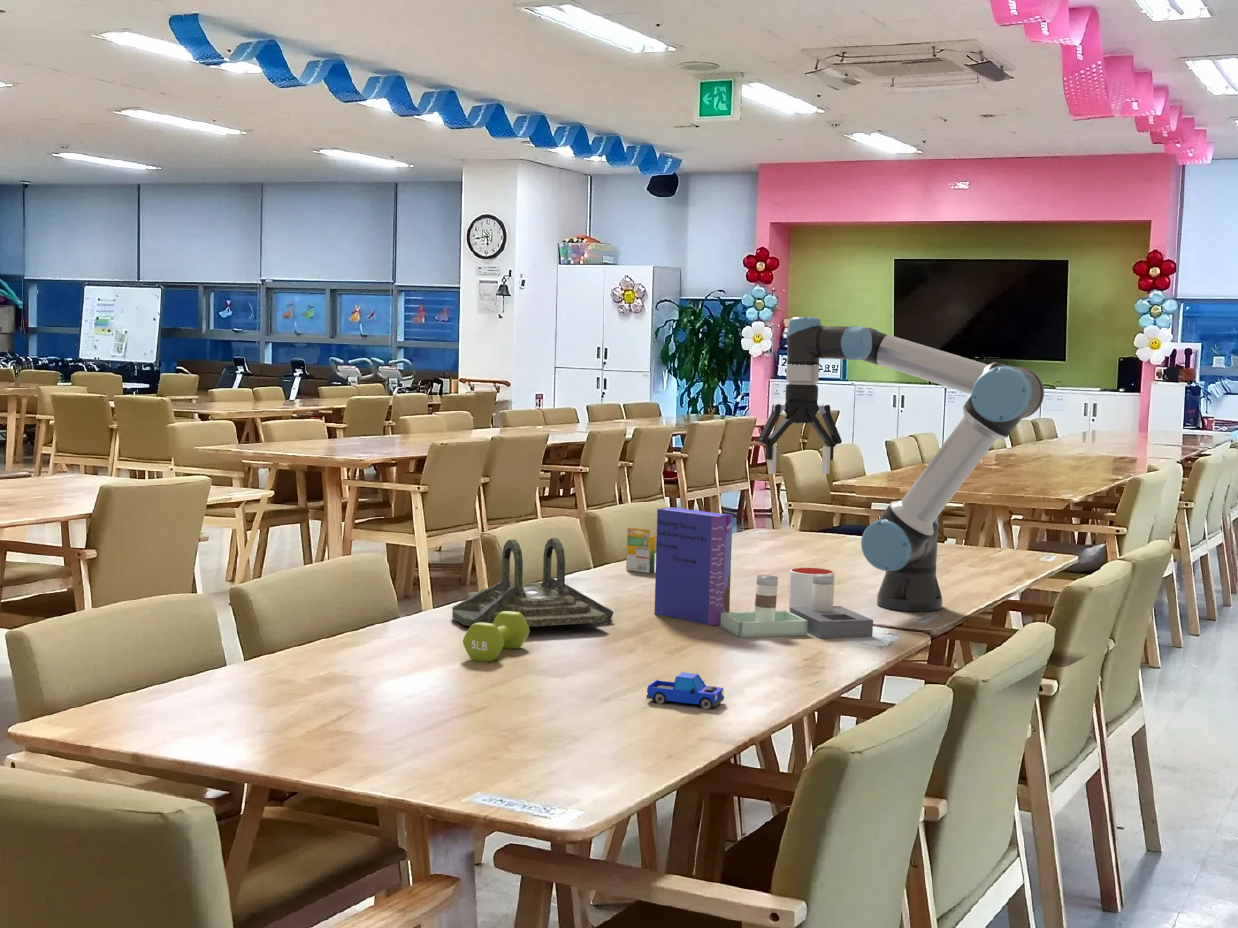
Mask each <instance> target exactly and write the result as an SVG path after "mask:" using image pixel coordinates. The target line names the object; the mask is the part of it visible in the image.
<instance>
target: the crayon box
mask: <svg viewBox="0 0 1238 928" xmlns="http://www.w3.org/2000/svg"><path fill="white" fill-rule="evenodd" d="M626 528H627V530H626V531H627V532H626V561H625V562H626V567H625V569H626V570H627V572H635V573H636V572H637V573H644V574H645V573H646V574H651V573H655V566H656V536H655V535H651V529H645V528H644V529H643V528H633V527H626ZM638 531H639V532H641V533H639V534H638V533H636V532H638Z"/></svg>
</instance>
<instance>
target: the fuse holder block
mask: <svg viewBox="0 0 1238 928" xmlns="http://www.w3.org/2000/svg"><path fill="white" fill-rule="evenodd" d="M833 583H834V584H835V575H834V576H833V575H829V574H814V575H813V591H812V607H790V610H789V612H790V613H793V614H795V615H797V616H799V617H801V618H803V619H805V620H807V621H808V622H807V634H810V635H812V636H814V637H817V638H818V639H839V638H863V637H873V635H874V634H873V630H874V629H873V628H874V620H873V619H872V618H868V617H867V616H865V615H862V614H860V613H857V612H855V611H853V610H851V609H849V608H846V607H843V606H841V605H833V606H832V603H833V604H834V601H833Z"/></svg>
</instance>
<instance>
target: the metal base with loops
mask: <svg viewBox="0 0 1238 928" xmlns="http://www.w3.org/2000/svg"><path fill="white" fill-rule="evenodd" d="M553 551H554V553H555V555H556V579H555V578H553V577H552V557H553ZM512 554H513V560H514V561H513V562H514V574H513V575H514V579H513V581H514V582H513V583H511V582H510V574H511V573H510V572H511V571H510V567H511V555H512ZM523 560H524V559H523V553H522V549H521V546H520V544H519V542H518V540H517V539H509V540H507V541H505V543H504V545H503V549H502V556H501V581H499V582H497V583H496V584H493V585H492V586H489V587H486V588H483V589H481V590H479V591H478V590H477V591H471V592H467V593H466V594H464V600H462V601H461V602H459V603H458V604H456V605H454V606H452V607H451V610H452V612H451V615H452V619H453V620H455V621H457V622H458V623H460V624H462V625H463V626H471V625H472V624H474V623H478V622H483V623H491V624H492V623H493V621H494V620H495V618H496V616H497V615H498V614H499V613H500V612H503V611H514V612H520V613H521V614H522V615H523V616H524V618H525V620H526V622H527V624H528V626H529V628H531V627H532V628H533V627H545V626H547V627H548V626H550V627H551V626H559V625H560V626H561V625H562V626H564V625H579V624H581V625H582V624H594V623H596V624H597V623H599V624H600V623H601V624H610V623H611V620H612V617H613V615H614V611H613V610H612V609H611V608H609V607H607V606H604V605H603V604H601V603H600V602H598V601H596V600H594V599H593V598H591V597H590V596H587V595H586V594H583V593H582V592H580V591H579V590H577V589H575V588H573V587H572V586H570V585H568V584H566V583H565V582H566V581H565V580H566V578H565V577H566V574H565V573H566V555H565V549H564V546H563V544H562V542H561V540H560V539H559V538H558V537H553V538H549V539H548V540H547V542H546V544H545V546H544V551H543V561H542V564H543V565H542V567H543V569H542V571H543V573H542V575H543V576H542V581H541V582H523V574H524V573H523V571H524V564H523V563H524V561H523Z"/></svg>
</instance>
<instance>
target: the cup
mask: <svg viewBox="0 0 1238 928" xmlns="http://www.w3.org/2000/svg"><path fill="white" fill-rule="evenodd" d="M814 574H829V575H833V576H834V577H835V571H833V570H831V569H827V568H819V567H795V568H792V569H789V591H788V593H789V594H788V611H790V607H812V591H813V575H814ZM834 593H835V582H834V583H833V603H832V606H834V599H835V598H834V597H835V594H834Z"/></svg>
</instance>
